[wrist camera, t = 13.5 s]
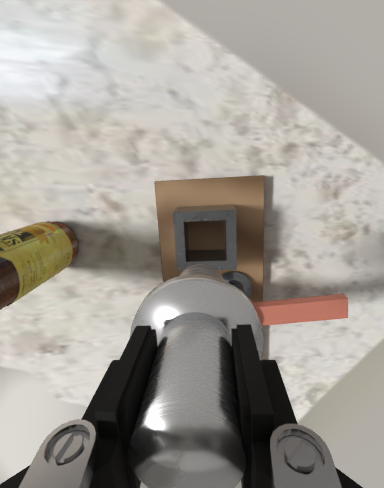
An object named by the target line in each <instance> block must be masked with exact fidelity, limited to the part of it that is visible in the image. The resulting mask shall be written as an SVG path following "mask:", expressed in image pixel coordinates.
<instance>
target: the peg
mask: <svg viewBox="0 0 384 488" xmlns="http://www.w3.org/2000/svg"><path fill="white" fill-rule="evenodd" d="M242 324H251V327H252V331H253V335H254V338H255V342H256V346H257V350H258V354H259V358H260V360H261V357H262V353H263V347H264V337H263V331H262V327H261V324H260V321H259V318H258V315H257V312H256V310H255V308H254V306H253V304H252V303H251V302H250V300H249V299H248V298H247V296H246V295H245V294H244V293H243V292H242V291H240V290H239V289H238V288H236V287H235V286H233V285H232V284H230V283H228V282H226V281H224V279H223V277H222V275H221V274H220V273H219V272H218V271H217V270H216V269H214V268H213V267H210V266H208V265H200V264H199V265H193V266H190V267H188V268H187V269H185V270H184V271H183V272H182V273H181V274H180V276H179V277H175V278H172V279H169V280H167V281H165V282H163V283H161V284H160V285H158V286H157V287H155V288H154V289H153V290H152V291H151V292H150V293H149V294H148V295H147V296H146V298H145V299H144V300H143V302H142V304H141V305H140V307H139V309H138V311H137V313H136V315H135V318H134V320H133V323H132V327H131V335H132V333H133V331H134V329H135V327H136V326H147V325H150V326H151V328H152V329H155V330H156V335H157V345H158V348H157V352H156V355H155V358H154V362H153V365H152V369H151V372H150V375H149V379H148V382H147V386H146V389H145V393H144V396H143V399H142V403H141V406H140V410H139V413H138V416H137V420H136V423H135V427H134V430H133V433H132V437H131V440H130V444H129V447H128V459H129V463H130V466H131V468H132V470H133V472H134V473H135V475H136V476H137V477H138V479H139V480H140V481H141V482H142V483H143V484H145V485H146V486H147V487H148V488H234V487H235V486H236V485H237V484H238V483H239V481H240V480H241V479H242V477H243V475H244V472H245V468H246V456H245V451H244V447H243V442H242V433H241V424H240V415H239V407H238V398H237V389H236V380H235V372H234V363H233V354H232V338H231V329H232V328H236V326H237V325H242ZM131 335H130V337H131Z"/></svg>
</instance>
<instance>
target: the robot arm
mask: <svg viewBox="0 0 384 488" xmlns="http://www.w3.org/2000/svg"><path fill="white" fill-rule="evenodd" d="M231 338H232V354H233V363H234V372H235V380H236V389H237V398H238V407H239V415H240V424H241V433H242V442H243V447H244V451H245V456H246V468H245V472H244V475H243V477H242V479H241V482H242V488H363V487H361V486H360V485H358V484H357V483H356V482H354V481H353V480H352V479H350V478H349V477H348V476H346V475H345V474H344V473H342V472H341V471H340V470H338V469H337V468H336V467H335V465H334V462H333V459H332V456H331V453H330V451H329V449H328V447H327V445H326V443H325V442H324V441H323V440H322V439H321V437H320V436H318V435H317V434H316V433H315V432H313V431H312V430H311V429H308V428H306V427H304V426H302V425H298V424H297V421H296V418H295V415H294V412H293V409H292V406H291V403H290V401H289V398H288V395H287V392H286V389H285V386H284V383H283V380H282V377H281V374H280V371H279V368H278V365H277V363H276V361H275V360H260V358H259V354H258V350H257V346H256V342H255V338H254V335H253V331H252V327H251V324H242V325H237V326H236V328H232V329H231ZM157 348H158V345H157V335H156V330H155V329H152V328H151V326H150V325H147V326H136V327H135V329H134V331H133V333H132V335H131V337H130V339H129V341H128V344H127V346H126V348H125V350H124V352H123V354H122V356H121V358H120V360H113V361H112V362H111V364H110V366H109V368H108V370H107V371H106V373H105V375H104V377H103V379H102V381H101V383H100V385H99V387H98V389H97V391H96V393H95V394H94V396H93V398H92V400H91V402H90V404H89V406H88V408H87V410H86V412H85V414H84V416H83V418H82V419H81V420H79V419H78V420H73V421H69V422H67V423H65V424H62V425H61V426H59V427H58V428H56V429H55V430H53V431H52V432H51V433H50V434H49V435H48V436H47V437H46V439H45V440H44V442H43V443H42V445H41V446H40V448H39V450H38V452H37V454H36V456H35V458H34V460H33V461H32V463H31V465H30V466H28V467H27V468H25V469H23V470H22V471H20V472H19V473H17V474H16V475H14V476H13V477H11V478H9V479H8V480H6V481H5V482H3V483H2V484H0V488H148V487H147V486H146V485H145V484H143V483H142V482H141V481H140V480H139V479H138V477H137V476H136V475H135V473H134V472H133V470H132V468H131V466H130V463H129V459H128V447H129V444H130V440H131V437H132V433H133V430H134V427H135V423H136V420H137V416H138V413H139V410H140V406H141V403H142V399H143V396H144V393H145V389H146V386H147V382H148V379H149V375H150V372H151V369H152V365H153V362H154V358H155V355H156V352H157Z"/></svg>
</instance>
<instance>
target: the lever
mask: <svg viewBox="0 0 384 488" xmlns="http://www.w3.org/2000/svg"><path fill="white" fill-rule="evenodd" d="M248 299H249V298H248ZM249 300H250V299H249ZM250 302H251V303H252V304H253V306H254V308H255V310H256V312H257V315H258V318H259V321H260V324H261V326H263V325H274V324H285V323H297V322H308V321H319V320H331V319H342V318H348V298H347V297H346V296H345V295H344V294H335V295H324V296H314V297H304V298H294V299H283V300H273V301H263V302H252V301H251V300H250Z"/></svg>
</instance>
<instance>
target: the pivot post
mask: <svg viewBox="0 0 384 488" xmlns="http://www.w3.org/2000/svg"><path fill="white" fill-rule="evenodd" d="M222 277H223V279H224V281H226V282H228V283H230V284H232V285H233V286H235V287H236V288H238V289H239V290H240V291H242V292H243V293H244V294H245V295H246V296H247V298H250V296H251V294H252V284H251V282H250V280H249V278H248V277H247V276H246V275H245V274H243V273H241V272H239V271H228V272H225V273H223V274H222Z"/></svg>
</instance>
